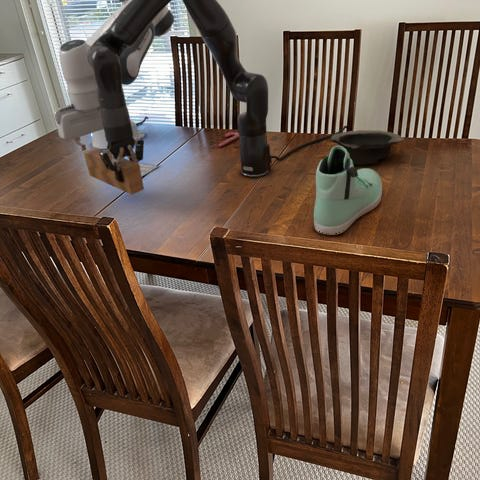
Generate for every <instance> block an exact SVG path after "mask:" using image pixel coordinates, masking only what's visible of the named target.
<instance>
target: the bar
mask: <svg viewBox="0 0 480 480" xmlns="http://www.w3.org/2000/svg"><path fill="white" fill-rule="evenodd" d="M100 151H102V152H103V151H105V149H99V148H94V147H92V148H91V149H88V150H87V149H86V150H84V151H83V156H84V159H85V162H86V167H87V171H88V174H89V177H93V178H94V179H96V180H99V181H101V182H103V183H104V184H107V185H109V186H112V187H113V188H116V189H118V190H119V191H122V192H124V193H127V194H129V195H135V194H137V193H139V192H141V191H144V190H145V187H144V181H143V176H141V171H140V166H139V164H140V163H139V162H138V163H135V162H133V161H130V160H129V159H128V158H126V157H124V158H123V160H122V163H121V171H122V175H123V179H124V182H122V183H121V182H119V181H117V180H116V177H115V172H114V171H111V170H109V169H107V168H106V166H105V164H104V162H103V160H102V159H101V157H100V155H99V152H100ZM109 158H110V160H111V162H112V164H113V161H112V154H111V153H110V157H109ZM117 159H118V158H117Z"/></svg>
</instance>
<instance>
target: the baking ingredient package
mask: <svg viewBox="0 0 480 480" xmlns="http://www.w3.org/2000/svg"><path fill="white" fill-rule="evenodd" d="M138 164H139V166H140V171H141V176H142V177H143V176H145V175H147V174H148V173H150V172H152V171H153V170H155V169H156V168H158V166H157V165H151V164H144V163H138Z"/></svg>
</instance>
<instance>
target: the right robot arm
mask: <svg viewBox="0 0 480 480" xmlns="http://www.w3.org/2000/svg"><path fill="white" fill-rule="evenodd" d="M172 1H173V0H132V1H131V2H129V3H128V4H127V5H126V7H125V8H124V9H123V10H122V11H121V13H120V14H119V15H118V16H117V18H116V19H115V21H114V22H113V23H112V25H111V26H110V27H109V28H108V29H107V30H106V31H105V32H104V33H103V34H102V35H101V36H100V37H99V38H98V39H97V40H96V41H95V42H94V43H93V45H92V46H91V47H90V49H89V51H88V55H87V59H88V62H89V64H90V66H91V67H92V68H93V70H94V74H95V78H96V83H97V97H98V101H99V106H100V112H101V119H102V124H103V128H104V132H105V136H106V140H107V143H108V146H107V149H104V151H103V152H102V151H100V152H99V155H100V157H101V159H102V160H103V162H104V164H105V166H106V168H107V169H109V170H111V171H114V172H115V177H116V180H117V181H119V182H121V183H122V182H124V179H123V175H122V171H121V163H122V160H123V158H126V157H127V159H128V160H130V161H133V162H135V163H138V164H139V162H141V161H143V160H144V147H145V146H144V145H145V141H144V139H142V138H141V139H138V138H137V139H134V138H133V131H132V126H131V121H132V120H131V117H130V111H129V108H128V106H127V102H126V96H125V92H124V91H125V90H124V88H123V84H122V75H121V66H120V61H119V56H120V55H121V54H122V53H123V52H124V50H125V49H127V48H129V47H131V46H132V45H133V44H134V43H135V42H136V41H137V40H138V38H139V37H140V36H141V35H142V33H143V32H144V31H145V30H146V28H147V27H148V26H149V25H150V23H151V22H152V21H153V20H154V19H155V17H156V16H157V15H158V14H159V13H160V12H161V11H162V10H163V9H164V8H165V7H167V6H168V5H169V4H170V3H171V2H172ZM181 1H182V2H183V4H184V6H185V8H186V10H187V13H188V15H189V16H190V18H191V21H192V22H193V23H194V25H195V27H196V29H197V31H198V33H199V34H200V35H199V36H200V38H202V41H203V42H204V43H205V45H206V47H207V48H208V50H209V52H210V53H211V55H212V56H213V59H214V61H215V62H216V64H217V66H218V68H219V70H220V71H221V72H220V73H221V74H222V76H223V78H224V80H225V82H226V85H227V88H228V90H229V92H230V94H231V95H232V97H233V98H234V99H235V100H237V102H241V103H244V104H245V105H246V106H245V107H246V110H245V112H242V113H240V114H239V115H238V116H237V127H238V133H239V137H238V141H239V142H238V143H239V152H240V154H239V155H240V166H241V167H240V169H241V171H240V173H241V175H243V176H244V177H246V178H259V177H263V176H266V175H267V174H268V173H269V172H271V164H272V163H273V161H272V159H275V160H277V161H282V160H283V159H285V158H286V157H287V156H289V155H290V154H292V153H294V152H296V151H297V150H299V149H301V148H303V147H306V146H309V145H311V144H314V143H318V142H321V141H323V140H327V139H328V138H331V137H332V136H333V135H335V134H338V133H342V132H345V129H349V127H348V125H343V127H342V129H341V130H339V131H336V132H334V133H331V134H328V135H326V136H322V137H319V138H316V139H313V140H310V141H308V142H305V143H303V144H300V145H298V146H296V147H294V148H293V149H291V150H289V151H288V152H286V153H285V154H284V155H282V156H280V157H279V156H276V155H271V145H270V144H269V143H268V135H267V134H268V133H267V131H268V130H267V117H268V114H269V85H268V81H267V78H266V77H265V76H264V75H263V74H259V73H255V72H250V71H247V70H246V69H245V67H244V66H243V64H242V62H241V61H240V59H239V56H238V36H237V32H236V29H235V27H234V25H233V23H232V22H231V20H230V18H229V16H228V14H227V13H226V10H225V9H224V8H223V7H222V5H221V4H220V3H219V2H218V0H181ZM130 120H131V121H130ZM110 153H111V154H112V161H113V164H112V162H111V160H110V158H109V157H110ZM117 158H118V159H117Z"/></svg>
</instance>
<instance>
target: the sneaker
mask: <svg viewBox="0 0 480 480" xmlns="http://www.w3.org/2000/svg"><path fill="white" fill-rule="evenodd" d="M317 165H318V166H317V168H316V172H315V201H314V207H313V225H314V229H315V231H316V232H318V233H320V234H323V235H326V236H327V235H328V236H336V235H339V234H342V233H344V232H345V231H347V230H348V229H349V228H350V227H351V226H352V225H353V224H354V222H356V221H357V220H358V219H359V218H360V217H362V216H363V215H365V214H367V213H370V212H372V210H374V209H375V208H377V207H378V205H380V203H381V200H382V196H383V184H382V183H383V182H382V179H381V176H380V175H379V173H378V172H377V171H376V170H374V169H372V168H367V167H365V168H358V169H357V168H355V167H354V166H355V165H353V161H352V159H350V156H349V153H348V152H347V150H346V149H345V148H344V147H342V146H339V145H334V146H333V147H331V149H330V151H329V154H327V155H326V156H325V157H324V158H322V159H321V160H320V161H319V163H318V164H317ZM343 230H344V231H343ZM319 231H320V232H319ZM322 232H323V233H322ZM339 232H340V233H339ZM326 233H327V234H326ZM328 233H329V234H328ZM335 233H337V234H335Z"/></svg>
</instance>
